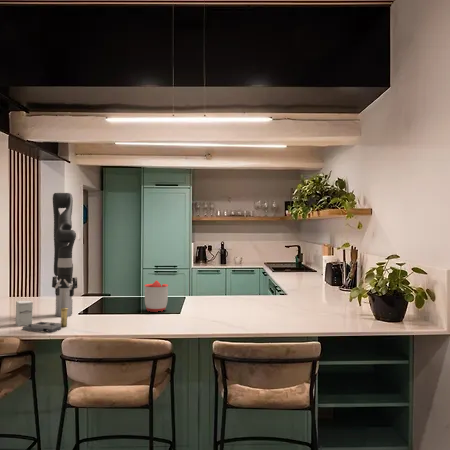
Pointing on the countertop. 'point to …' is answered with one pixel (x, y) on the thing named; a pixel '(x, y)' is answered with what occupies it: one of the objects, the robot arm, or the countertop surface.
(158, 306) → the citrus juicer
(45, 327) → the chain end upper
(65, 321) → the pin
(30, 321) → the supplement box
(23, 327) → the chain end lower
